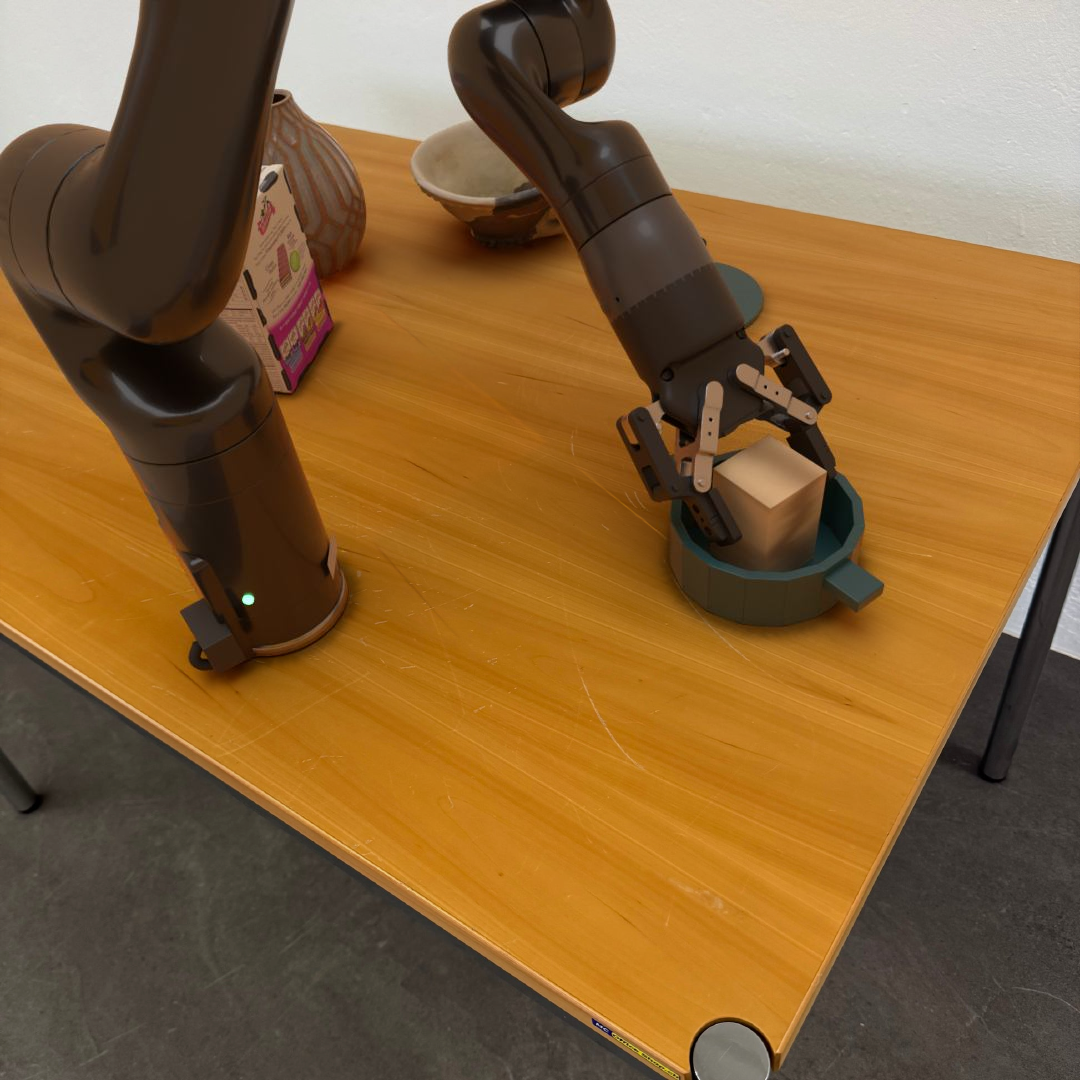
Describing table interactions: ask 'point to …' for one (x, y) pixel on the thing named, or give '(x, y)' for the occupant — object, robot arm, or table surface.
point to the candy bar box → (279, 287)
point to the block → (770, 506)
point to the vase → (317, 184)
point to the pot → (778, 592)
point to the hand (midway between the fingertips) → (779, 511)
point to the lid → (742, 291)
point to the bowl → (481, 187)
